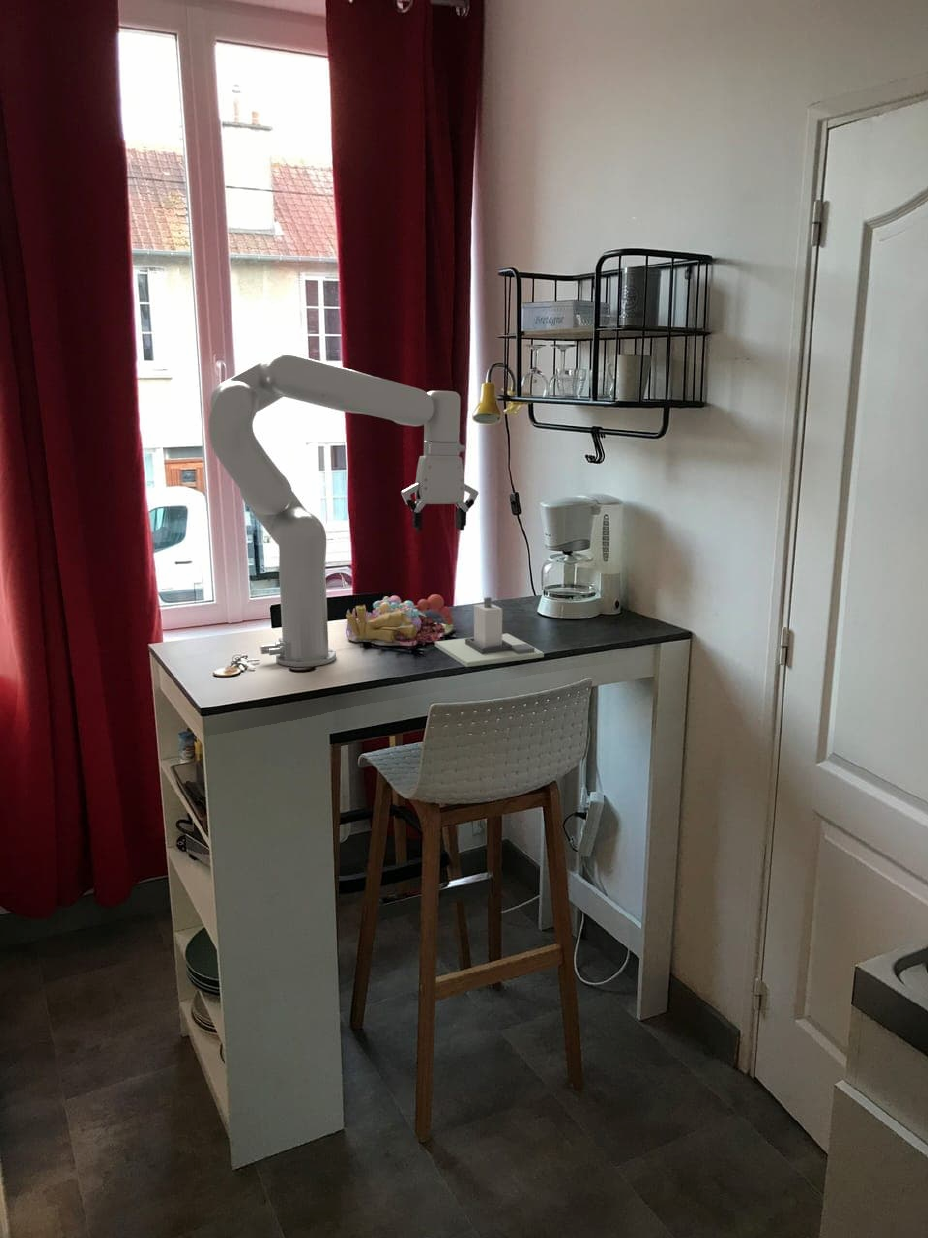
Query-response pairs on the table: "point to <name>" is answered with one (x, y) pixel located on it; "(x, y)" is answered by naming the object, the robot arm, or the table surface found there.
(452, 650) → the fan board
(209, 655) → the table surface
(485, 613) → the plug
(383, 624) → the candy landscape model
